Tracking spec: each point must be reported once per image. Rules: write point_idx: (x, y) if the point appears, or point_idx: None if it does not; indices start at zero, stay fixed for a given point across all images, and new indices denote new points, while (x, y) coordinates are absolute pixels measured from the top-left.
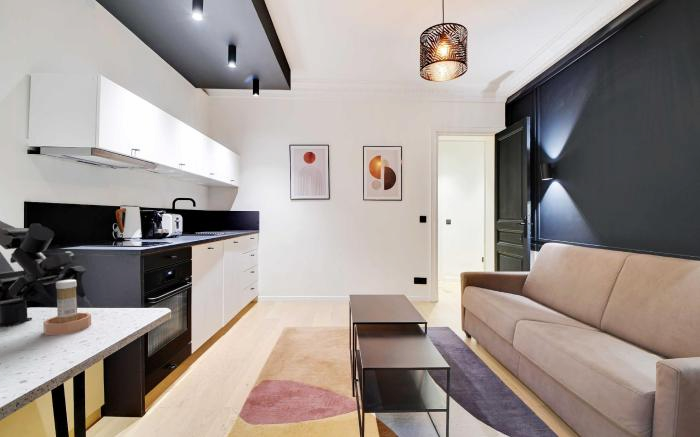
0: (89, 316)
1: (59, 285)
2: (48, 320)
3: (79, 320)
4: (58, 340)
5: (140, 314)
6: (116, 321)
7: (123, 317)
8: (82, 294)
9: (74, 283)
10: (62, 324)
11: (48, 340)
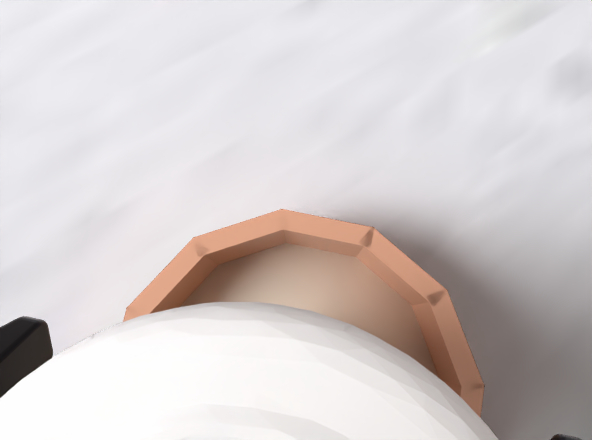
0: (239, 224)
1: None
2: None
3: (374, 228)
4: (562, 265)
5: (19, 3)
6: (170, 92)
7: (72, 93)
8: (23, 358)
9: (256, 302)
10: (457, 328)
11: (561, 345)
